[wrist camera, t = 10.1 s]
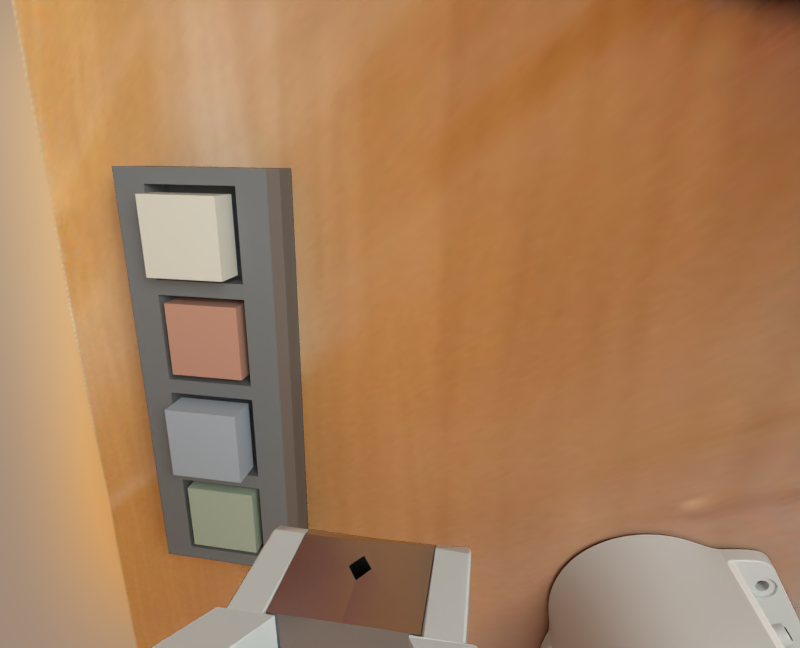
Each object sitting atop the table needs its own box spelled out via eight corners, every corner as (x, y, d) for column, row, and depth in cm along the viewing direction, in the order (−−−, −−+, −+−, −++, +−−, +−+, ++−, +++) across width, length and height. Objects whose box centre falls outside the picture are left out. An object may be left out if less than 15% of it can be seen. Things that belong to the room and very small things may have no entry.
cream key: (237, 275, 33) (222, 281, 31) (165, 271, 33) (146, 277, 31) (231, 194, 31) (214, 195, 29) (156, 192, 32) (135, 193, 30)
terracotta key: (254, 369, 36) (241, 380, 34) (189, 363, 37) (172, 374, 35) (249, 300, 34) (235, 307, 33) (181, 296, 35) (163, 303, 33)
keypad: (308, 535, 42) (290, 571, 39) (196, 520, 44) (169, 553, 40) (291, 168, 34) (265, 168, 30) (152, 165, 35) (111, 166, 31)
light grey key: (253, 466, 37) (240, 482, 35) (189, 459, 38) (173, 474, 36) (248, 403, 35) (234, 417, 33) (181, 397, 36) (164, 409, 34)
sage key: (267, 534, 40) (256, 553, 38) (208, 526, 41) (194, 543, 39) (263, 479, 39) (251, 495, 37) (202, 472, 39) (187, 487, 38)
